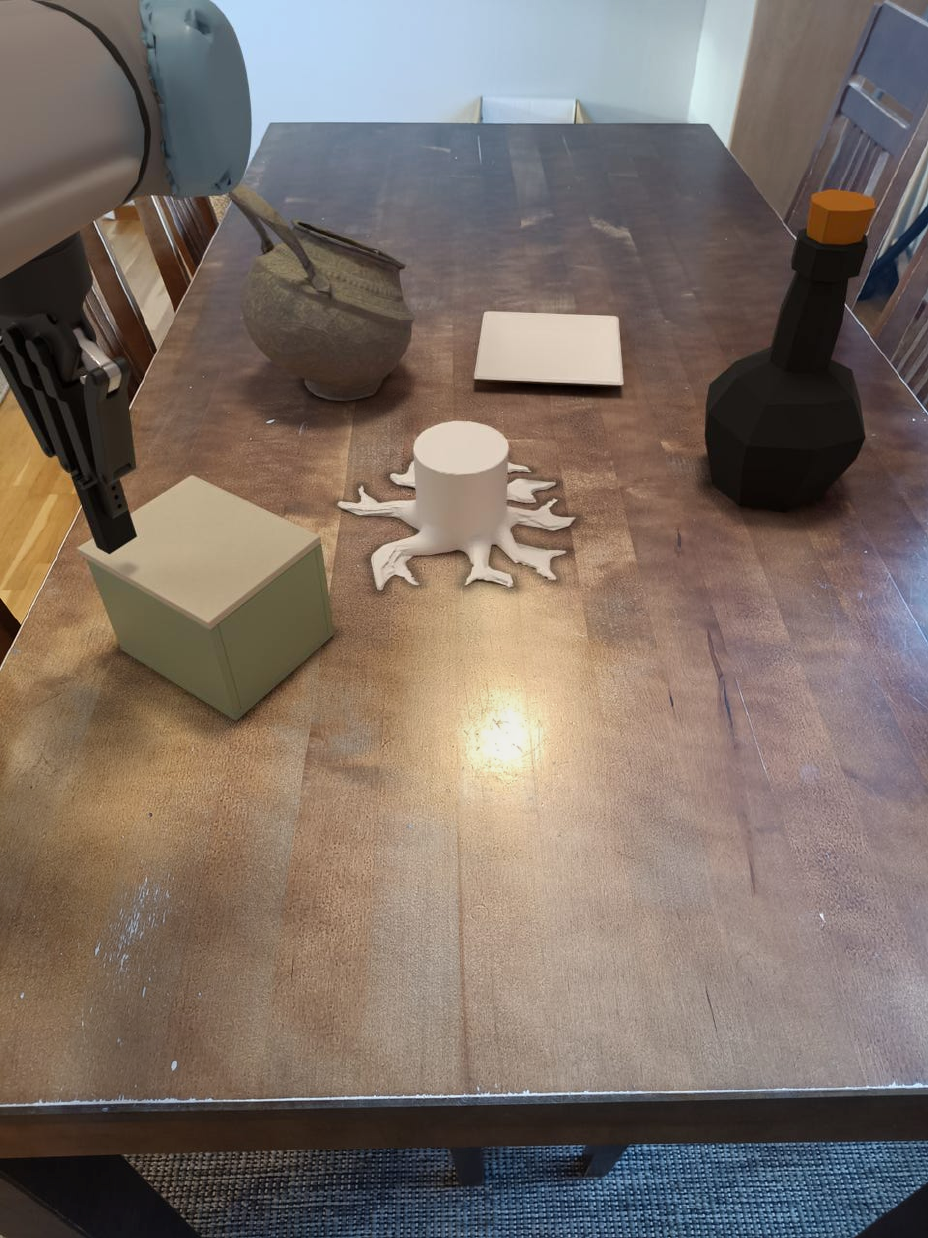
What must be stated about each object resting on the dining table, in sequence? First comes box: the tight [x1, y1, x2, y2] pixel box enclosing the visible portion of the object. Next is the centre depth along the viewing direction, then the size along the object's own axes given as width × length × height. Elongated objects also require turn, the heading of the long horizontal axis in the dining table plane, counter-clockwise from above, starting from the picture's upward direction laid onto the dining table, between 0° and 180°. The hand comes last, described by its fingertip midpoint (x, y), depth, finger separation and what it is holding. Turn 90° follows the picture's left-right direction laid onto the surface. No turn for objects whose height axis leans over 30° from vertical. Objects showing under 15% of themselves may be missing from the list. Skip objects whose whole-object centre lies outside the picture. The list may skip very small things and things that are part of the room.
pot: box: [227, 181, 416, 402], centre depth 106 cm, size 21×21×25 cm
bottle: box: [704, 188, 876, 513], centre depth 89 cm, size 16×16×30 cm
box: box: [85, 542, 335, 722], centre depth 78 cm, size 15×13×11 cm
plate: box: [473, 310, 625, 388], centre depth 119 cm, size 19×19×2 cm
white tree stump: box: [337, 420, 577, 591], centre depth 91 cm, size 23×25×9 cm
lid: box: [76, 474, 322, 629], centre depth 74 cm, size 15×13×1 cm
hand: (117, 541), depth 69 cm, fingers closed
